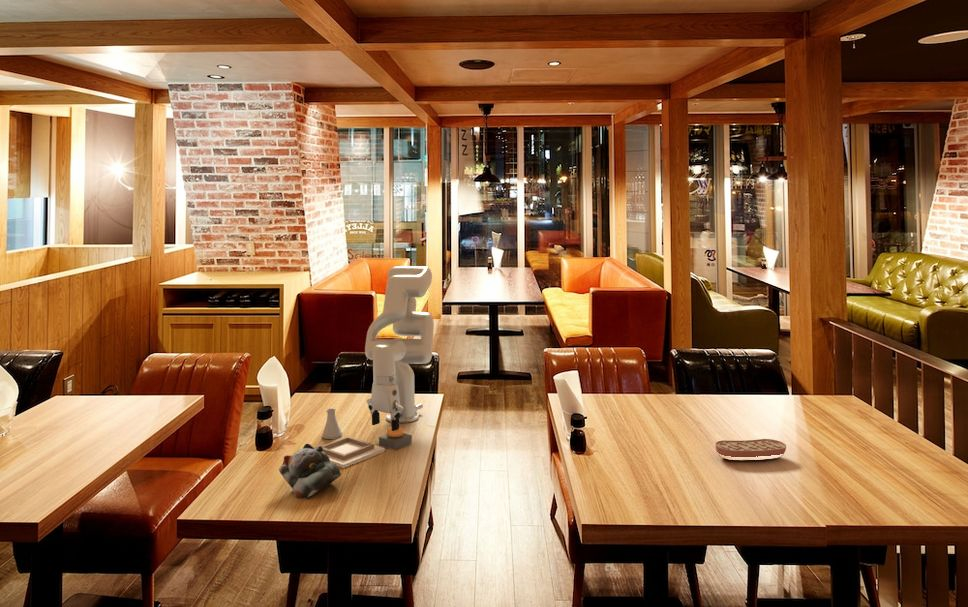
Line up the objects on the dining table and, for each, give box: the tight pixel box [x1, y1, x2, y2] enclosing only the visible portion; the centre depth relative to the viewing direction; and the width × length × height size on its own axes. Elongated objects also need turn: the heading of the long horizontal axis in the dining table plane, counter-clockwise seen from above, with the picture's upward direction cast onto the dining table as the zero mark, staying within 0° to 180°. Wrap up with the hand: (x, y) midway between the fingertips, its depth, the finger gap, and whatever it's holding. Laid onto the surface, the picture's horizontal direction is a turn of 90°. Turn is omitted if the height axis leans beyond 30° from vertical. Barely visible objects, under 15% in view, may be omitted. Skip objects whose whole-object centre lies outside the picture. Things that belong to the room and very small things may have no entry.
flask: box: [321, 407, 343, 440], centre depth 229 cm, size 7×7×10 cm
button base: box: [378, 432, 413, 451], centre depth 222 cm, size 8×8×3 cm
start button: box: [385, 426, 405, 438], centre depth 221 cm, size 6×6×4 cm
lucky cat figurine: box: [278, 443, 342, 500], centre depth 186 cm, size 15×12×14 cm
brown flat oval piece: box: [715, 438, 787, 457], centre depth 208 cm, size 23×10×5 cm, turn 96°
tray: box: [321, 436, 386, 469], centre depth 213 cm, size 18×18×3 cm
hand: (385, 427), depth 224 cm, fingers open, 9 cm apart
